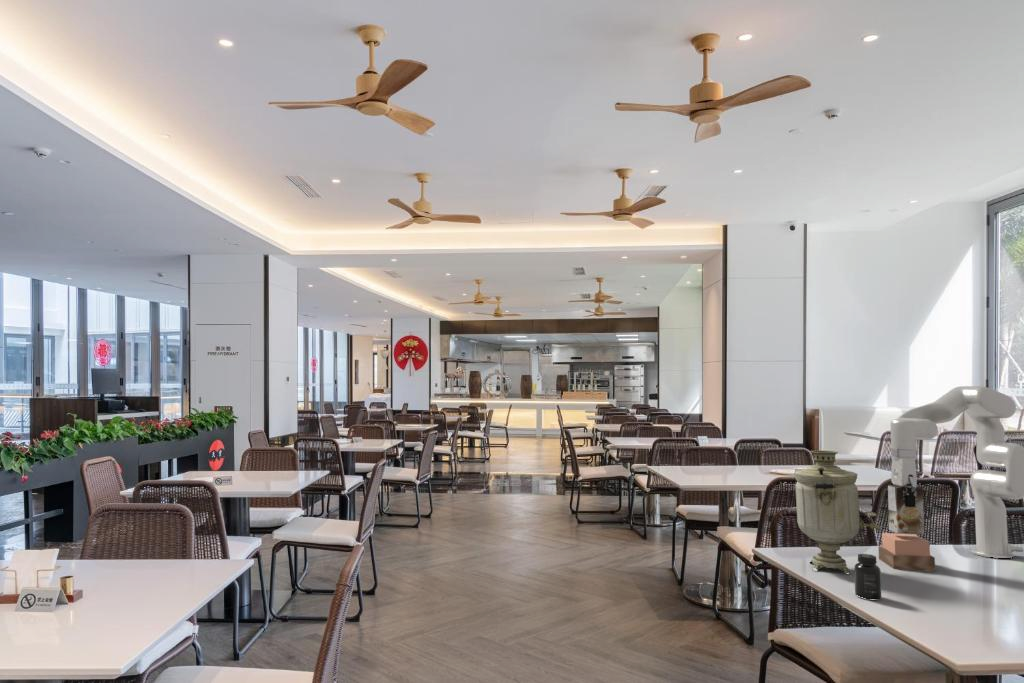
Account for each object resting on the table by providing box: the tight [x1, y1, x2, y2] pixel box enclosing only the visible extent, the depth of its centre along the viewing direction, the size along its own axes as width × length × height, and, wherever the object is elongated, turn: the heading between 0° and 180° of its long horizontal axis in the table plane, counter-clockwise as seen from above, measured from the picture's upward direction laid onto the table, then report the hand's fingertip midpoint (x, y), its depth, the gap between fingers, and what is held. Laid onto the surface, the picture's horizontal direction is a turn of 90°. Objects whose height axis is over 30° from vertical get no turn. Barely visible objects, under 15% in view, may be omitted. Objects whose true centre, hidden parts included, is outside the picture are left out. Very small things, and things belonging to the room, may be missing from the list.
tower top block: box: [881, 532, 931, 557], centre depth 224 cm, size 11×11×5 cm
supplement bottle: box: [853, 553, 882, 600], centre depth 189 cm, size 7×7×12 cm
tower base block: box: [878, 545, 936, 572], centre depth 224 cm, size 13×13×5 cm
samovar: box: [793, 450, 883, 574], centre depth 217 cm, size 30×26×40 cm
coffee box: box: [887, 484, 925, 535], centre depth 225 cm, size 9×6×16 cm
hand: (905, 504), depth 225 cm, fingers closed on coffee box, 6 cm apart
